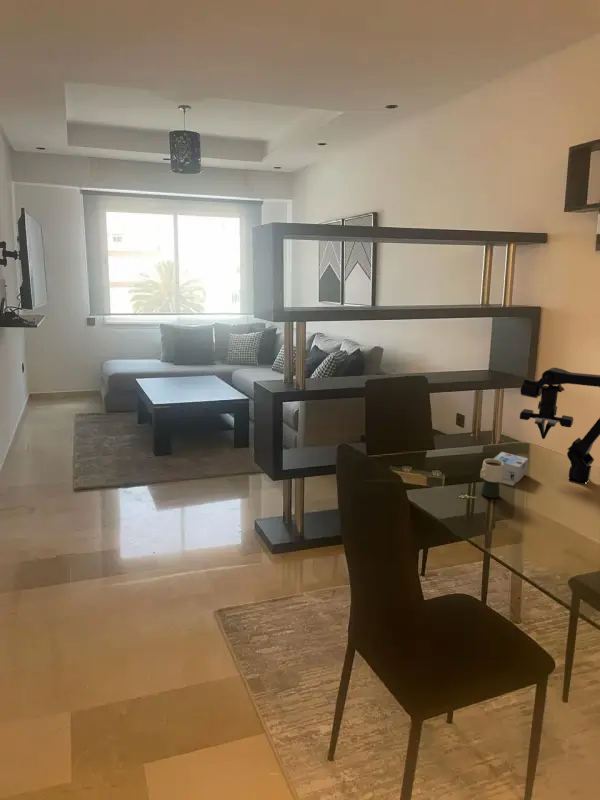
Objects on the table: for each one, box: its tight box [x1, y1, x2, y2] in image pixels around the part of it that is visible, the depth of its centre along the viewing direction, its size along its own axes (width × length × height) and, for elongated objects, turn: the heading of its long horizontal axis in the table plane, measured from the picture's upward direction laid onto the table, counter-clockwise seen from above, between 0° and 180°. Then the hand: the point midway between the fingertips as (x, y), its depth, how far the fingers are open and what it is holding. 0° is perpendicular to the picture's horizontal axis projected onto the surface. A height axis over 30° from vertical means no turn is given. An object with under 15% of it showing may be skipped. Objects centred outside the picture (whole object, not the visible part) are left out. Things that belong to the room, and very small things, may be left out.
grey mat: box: [499, 478, 517, 487], centre depth 233 cm, size 12×16×1 cm
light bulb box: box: [493, 451, 529, 483], centre depth 231 cm, size 11×7×11 cm
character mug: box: [479, 458, 505, 499], centre depth 213 cm, size 11×7×13 cm, turn 116°
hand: (543, 438), depth 234 cm, fingers closed
